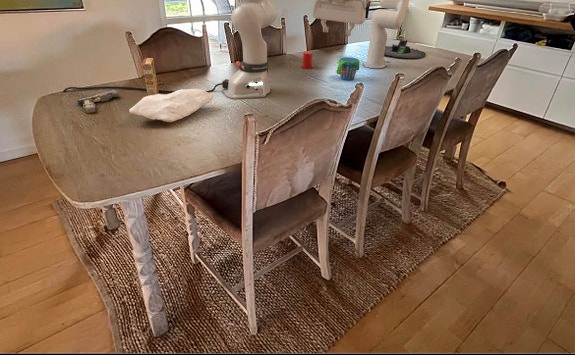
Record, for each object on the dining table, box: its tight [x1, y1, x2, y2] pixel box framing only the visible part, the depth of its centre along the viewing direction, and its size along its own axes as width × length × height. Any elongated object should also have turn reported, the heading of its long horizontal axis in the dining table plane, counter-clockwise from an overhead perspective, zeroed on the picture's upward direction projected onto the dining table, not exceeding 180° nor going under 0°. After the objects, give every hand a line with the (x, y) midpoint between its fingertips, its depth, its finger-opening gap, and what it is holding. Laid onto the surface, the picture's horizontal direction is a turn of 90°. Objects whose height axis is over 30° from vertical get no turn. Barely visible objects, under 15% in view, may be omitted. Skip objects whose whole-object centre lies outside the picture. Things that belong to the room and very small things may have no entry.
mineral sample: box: [384, 38, 427, 59], centre depth 250 cm, size 35×35×9 cm
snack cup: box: [336, 56, 361, 81], centre depth 195 cm, size 16×10×10 cm
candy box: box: [141, 57, 160, 96], centre depth 163 cm, size 9×4×15 cm, turn 13°
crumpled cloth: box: [129, 88, 214, 123], centre depth 147 cm, size 24×35×9 cm
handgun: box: [76, 89, 120, 114], centre depth 155 cm, size 3×18×15 cm
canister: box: [302, 51, 313, 70], centre depth 211 cm, size 5×5×9 cm
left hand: (336, 33), depth 138 cm, fingers open, 8 cm apart
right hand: (360, 16), depth 181 cm, fingers open, 9 cm apart
